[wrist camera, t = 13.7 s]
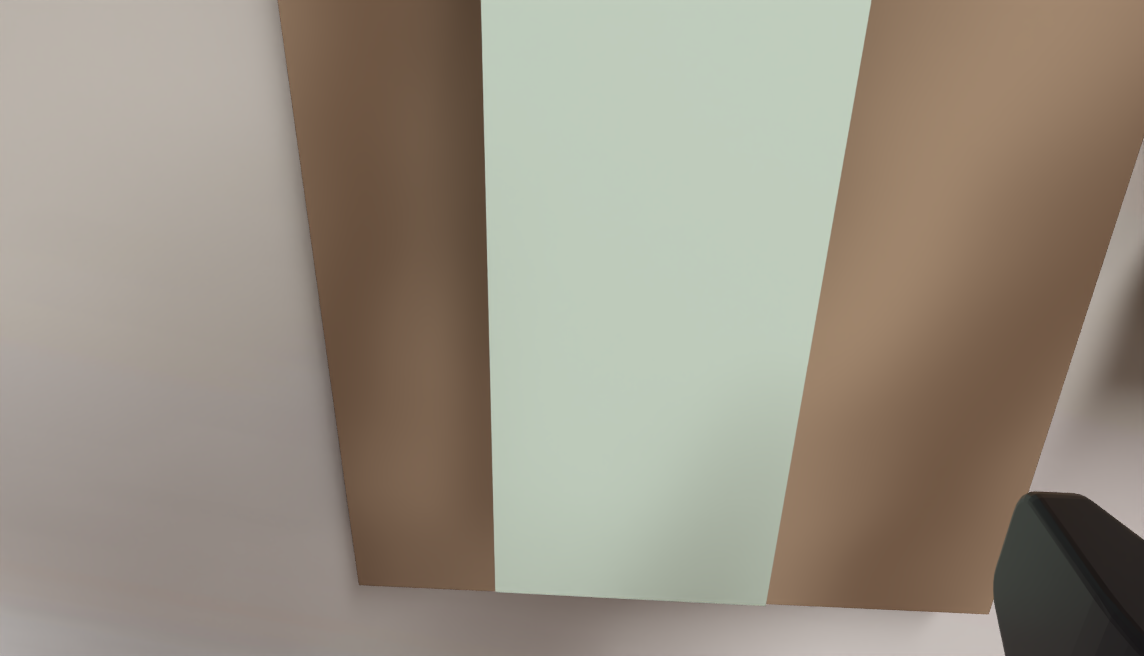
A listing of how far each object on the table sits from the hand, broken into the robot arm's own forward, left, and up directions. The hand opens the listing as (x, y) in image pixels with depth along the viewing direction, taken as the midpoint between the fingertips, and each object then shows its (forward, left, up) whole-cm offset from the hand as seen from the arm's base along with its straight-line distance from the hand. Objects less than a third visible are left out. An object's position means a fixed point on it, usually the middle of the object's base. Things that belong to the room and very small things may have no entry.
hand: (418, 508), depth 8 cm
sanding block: (+2, 0, -10) cm, 11 cm away
